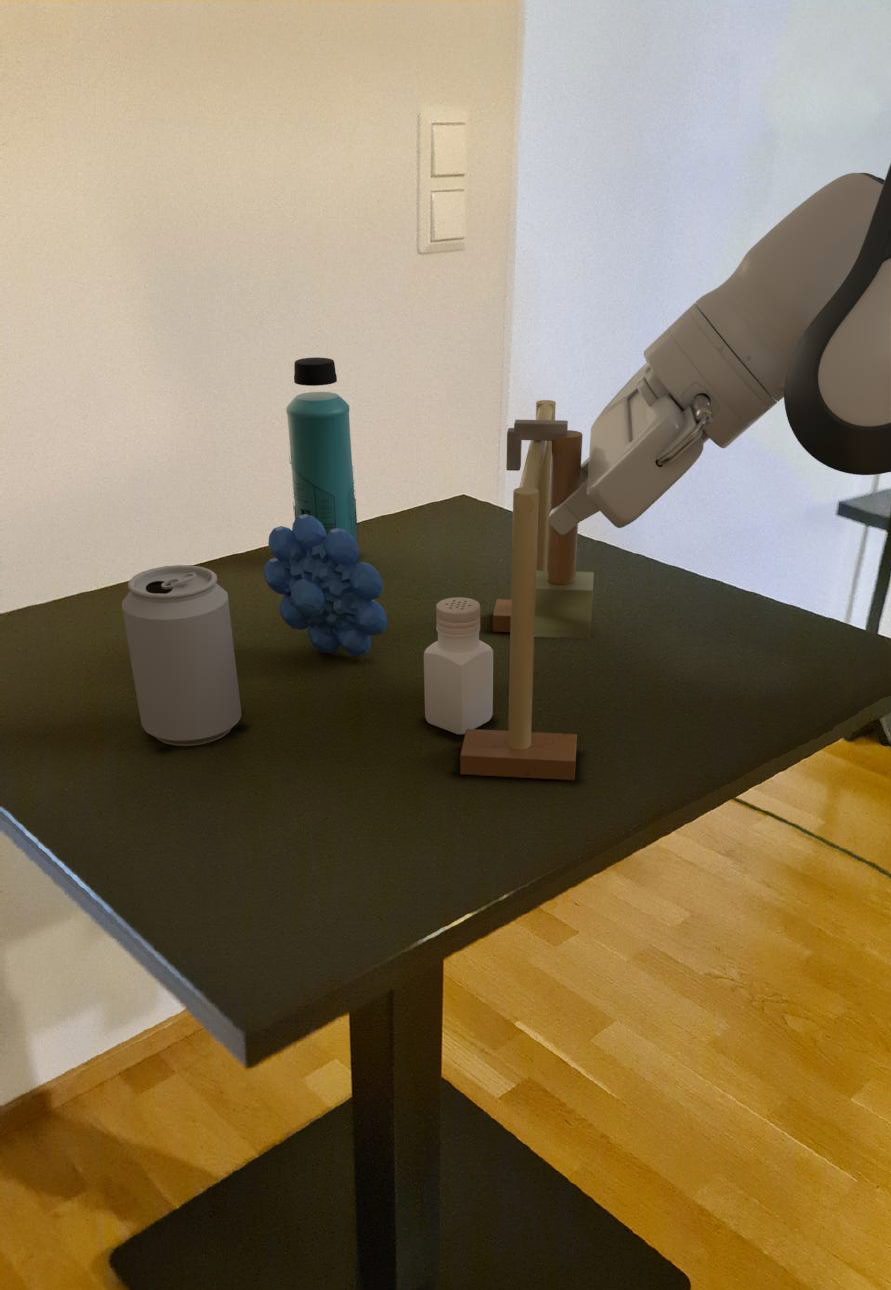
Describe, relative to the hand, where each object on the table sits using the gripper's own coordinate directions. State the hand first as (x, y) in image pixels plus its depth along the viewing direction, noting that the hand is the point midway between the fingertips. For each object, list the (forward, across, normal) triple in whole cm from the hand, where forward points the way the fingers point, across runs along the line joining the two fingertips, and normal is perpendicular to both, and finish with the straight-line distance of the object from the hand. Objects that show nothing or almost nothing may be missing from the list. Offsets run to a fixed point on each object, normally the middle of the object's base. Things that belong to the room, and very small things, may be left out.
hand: (555, 518), depth 85 cm
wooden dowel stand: (+11, 0, -9) cm, 14 cm away
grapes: (+24, +4, +4) cm, 24 cm away
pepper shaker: (+15, -7, -5) cm, 17 cm away
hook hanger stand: (+6, 0, -7) cm, 9 cm away
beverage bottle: (+27, +29, +7) cm, 40 cm away
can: (+29, -10, +9) cm, 32 cm away
